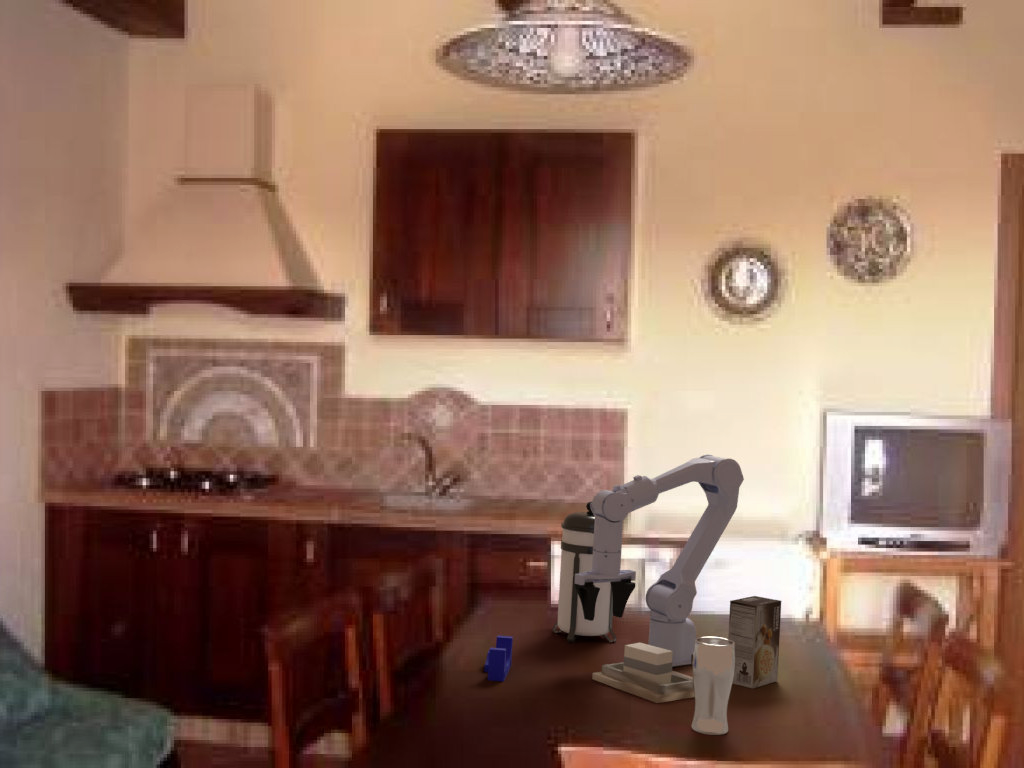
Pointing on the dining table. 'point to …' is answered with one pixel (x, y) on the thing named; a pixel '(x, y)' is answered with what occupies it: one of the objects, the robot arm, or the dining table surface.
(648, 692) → the board
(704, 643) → the beer glass
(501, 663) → the cable clip
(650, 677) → the cream grey striped block
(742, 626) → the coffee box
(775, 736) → the dining table surface
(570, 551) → the coffee press
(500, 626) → the dining table surface
